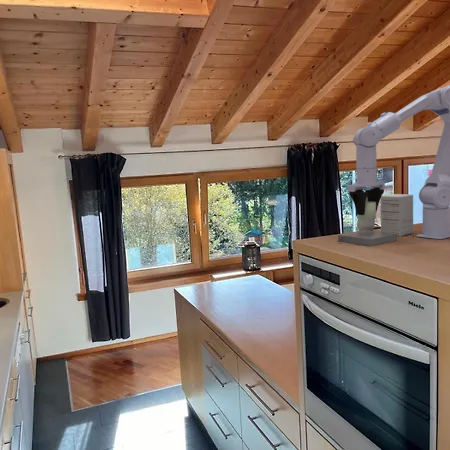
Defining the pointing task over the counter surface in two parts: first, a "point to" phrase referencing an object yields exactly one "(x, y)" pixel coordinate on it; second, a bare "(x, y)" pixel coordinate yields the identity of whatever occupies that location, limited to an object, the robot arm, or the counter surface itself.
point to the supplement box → (397, 214)
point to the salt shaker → (365, 224)
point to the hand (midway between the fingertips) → (366, 213)
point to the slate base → (367, 237)
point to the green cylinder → (369, 211)
